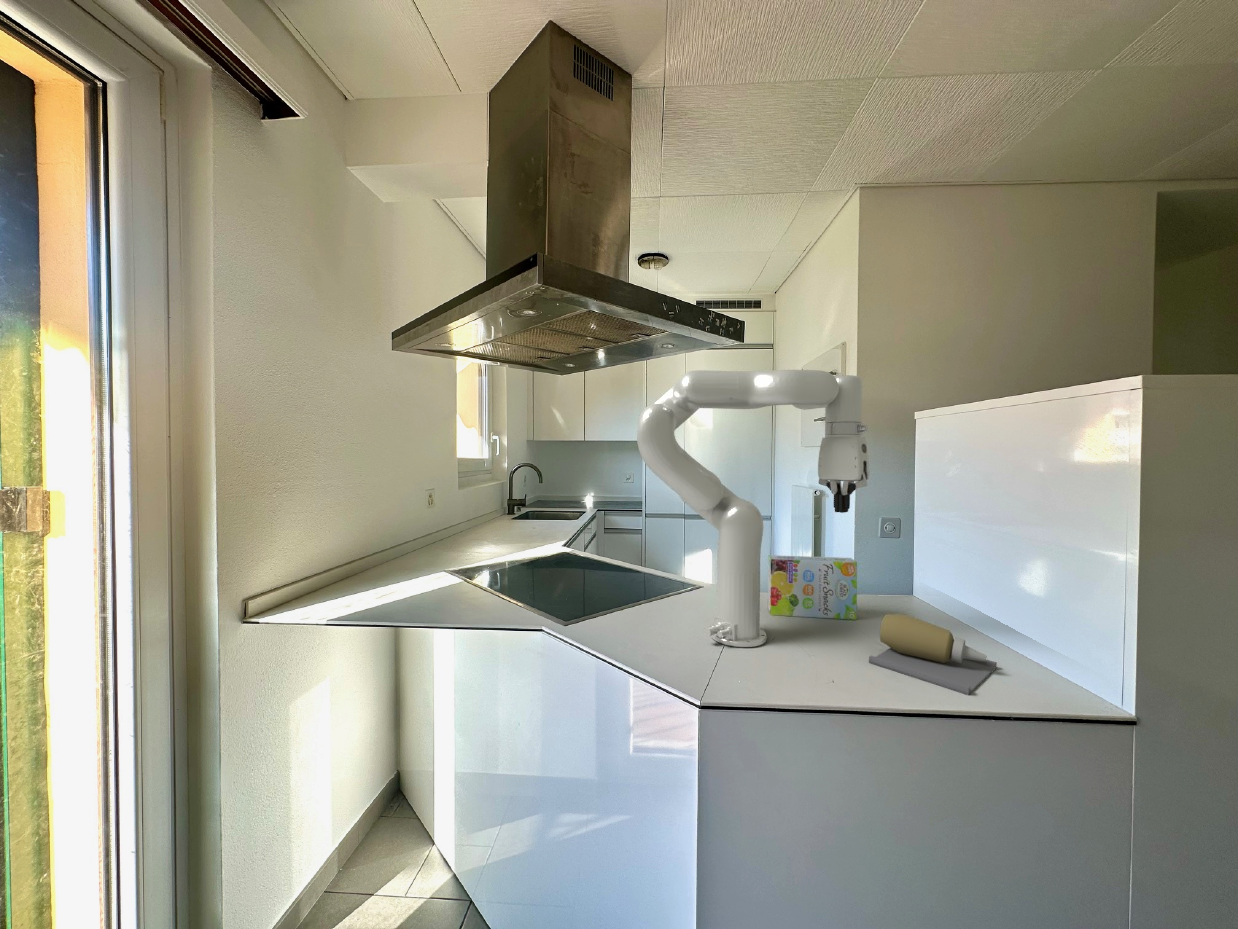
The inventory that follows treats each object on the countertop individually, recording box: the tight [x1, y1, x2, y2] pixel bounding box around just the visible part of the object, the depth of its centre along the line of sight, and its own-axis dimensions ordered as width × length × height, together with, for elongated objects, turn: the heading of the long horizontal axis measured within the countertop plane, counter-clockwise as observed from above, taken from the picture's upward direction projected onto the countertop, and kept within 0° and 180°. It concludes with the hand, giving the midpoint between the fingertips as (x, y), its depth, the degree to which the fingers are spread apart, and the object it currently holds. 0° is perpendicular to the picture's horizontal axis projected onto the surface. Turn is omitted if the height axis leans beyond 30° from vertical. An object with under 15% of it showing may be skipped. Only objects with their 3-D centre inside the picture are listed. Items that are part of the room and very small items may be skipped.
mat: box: [868, 647, 998, 696], centre depth 98 cm, size 17×17×1 cm
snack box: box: [767, 554, 858, 621], centre depth 128 cm, size 21×6×15 cm, turn 80°
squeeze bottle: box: [879, 613, 987, 663], centre depth 100 cm, size 8×8×18 cm
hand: (841, 511), depth 112 cm, fingers closed
